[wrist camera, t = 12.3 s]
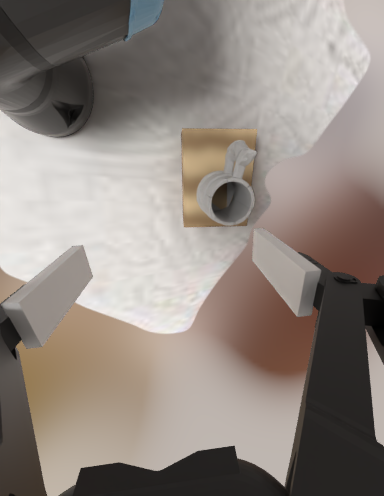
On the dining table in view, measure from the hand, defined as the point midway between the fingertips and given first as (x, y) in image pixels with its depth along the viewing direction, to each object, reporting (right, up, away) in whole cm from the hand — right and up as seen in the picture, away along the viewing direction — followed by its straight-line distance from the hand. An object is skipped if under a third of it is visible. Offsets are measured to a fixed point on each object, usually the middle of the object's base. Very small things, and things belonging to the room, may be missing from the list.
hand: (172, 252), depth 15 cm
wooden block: (+6, +14, +24) cm, 29 cm away
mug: (+6, +12, +19) cm, 23 cm away
